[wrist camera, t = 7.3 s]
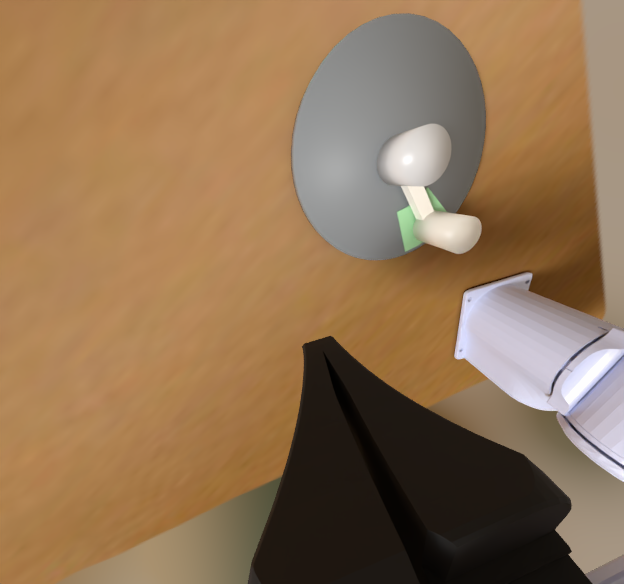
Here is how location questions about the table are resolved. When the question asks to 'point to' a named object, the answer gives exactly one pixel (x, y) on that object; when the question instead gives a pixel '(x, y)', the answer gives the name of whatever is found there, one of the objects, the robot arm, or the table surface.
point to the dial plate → (384, 131)
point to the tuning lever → (422, 172)
